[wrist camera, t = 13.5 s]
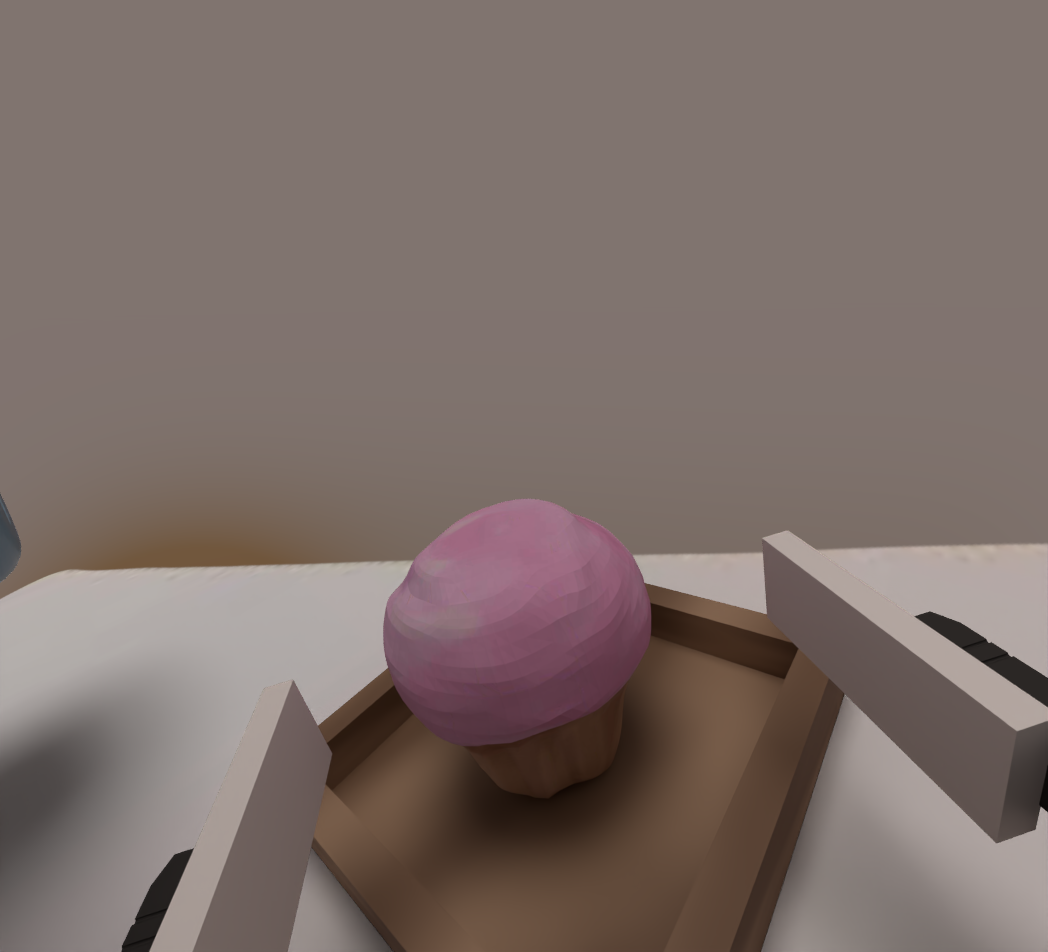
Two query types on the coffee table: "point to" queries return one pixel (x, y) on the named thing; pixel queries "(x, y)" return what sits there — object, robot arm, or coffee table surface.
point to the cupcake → (521, 642)
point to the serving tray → (592, 807)
